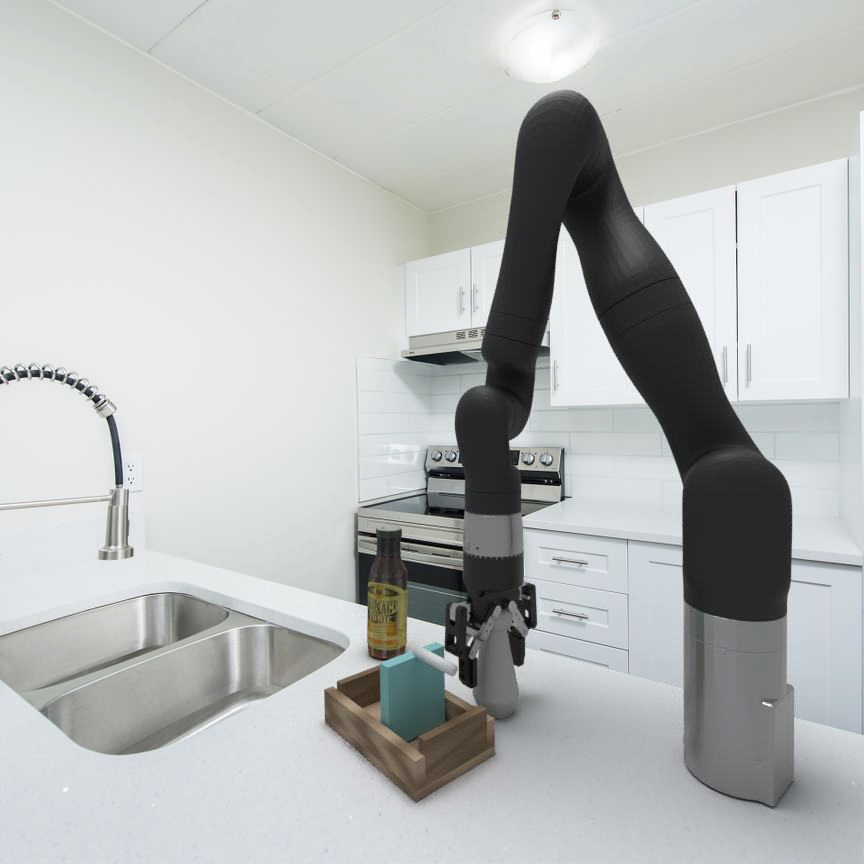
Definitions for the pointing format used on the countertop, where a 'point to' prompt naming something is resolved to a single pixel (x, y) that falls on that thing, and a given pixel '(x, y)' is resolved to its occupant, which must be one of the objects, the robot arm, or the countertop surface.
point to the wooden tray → (419, 757)
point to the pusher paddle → (414, 690)
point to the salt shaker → (497, 671)
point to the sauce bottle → (387, 597)
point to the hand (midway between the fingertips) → (493, 674)
